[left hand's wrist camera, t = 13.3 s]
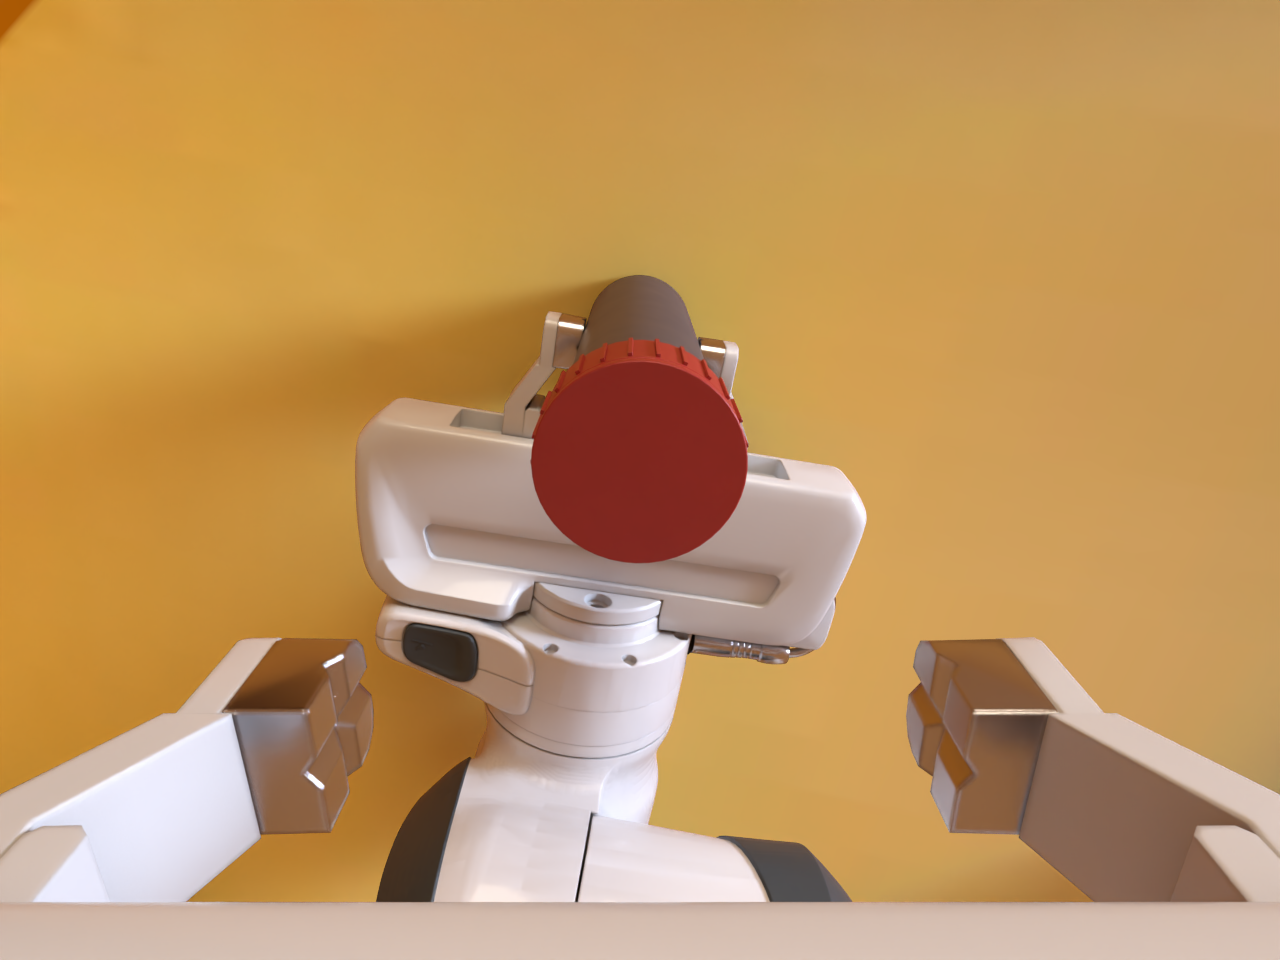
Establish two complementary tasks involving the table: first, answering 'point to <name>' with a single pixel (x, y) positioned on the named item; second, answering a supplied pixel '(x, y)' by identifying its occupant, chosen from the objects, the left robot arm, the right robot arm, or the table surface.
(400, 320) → the table surface
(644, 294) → the jar
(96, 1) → the table surface
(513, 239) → the table surface
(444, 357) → the table surface
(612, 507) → the lid
